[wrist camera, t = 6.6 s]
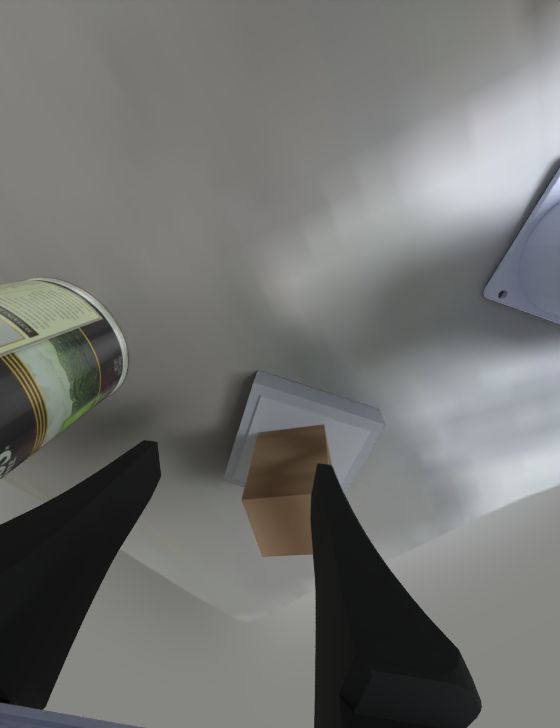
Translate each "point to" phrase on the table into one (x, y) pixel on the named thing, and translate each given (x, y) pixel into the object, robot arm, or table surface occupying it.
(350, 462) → the pedestal
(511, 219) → the table surface
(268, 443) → the walnut block
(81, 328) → the coffee can
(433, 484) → the table surface
